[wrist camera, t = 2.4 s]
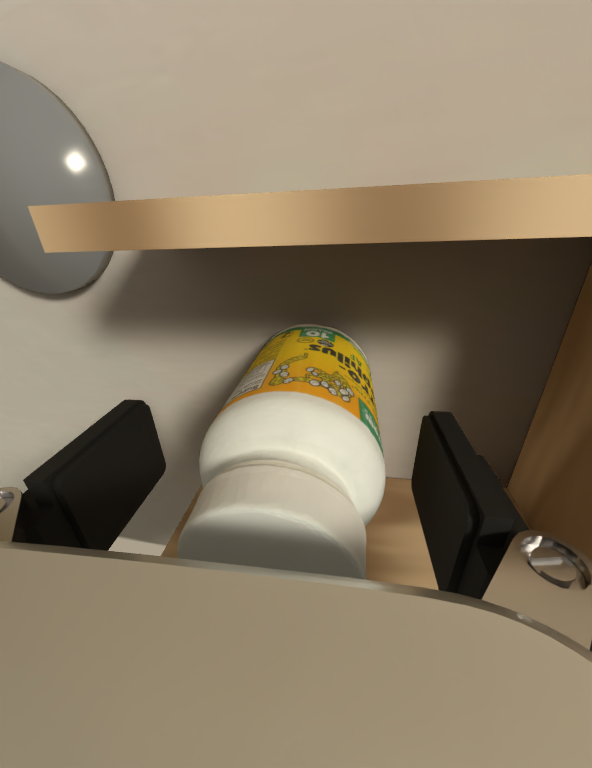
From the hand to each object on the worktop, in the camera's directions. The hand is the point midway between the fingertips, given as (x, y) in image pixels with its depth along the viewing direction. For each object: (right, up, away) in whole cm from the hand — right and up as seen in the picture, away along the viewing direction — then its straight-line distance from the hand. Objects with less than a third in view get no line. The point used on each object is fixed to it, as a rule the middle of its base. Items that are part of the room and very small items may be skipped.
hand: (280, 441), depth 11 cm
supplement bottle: (+1, +2, +4) cm, 5 cm away
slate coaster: (-11, +10, +2) cm, 15 cm away
